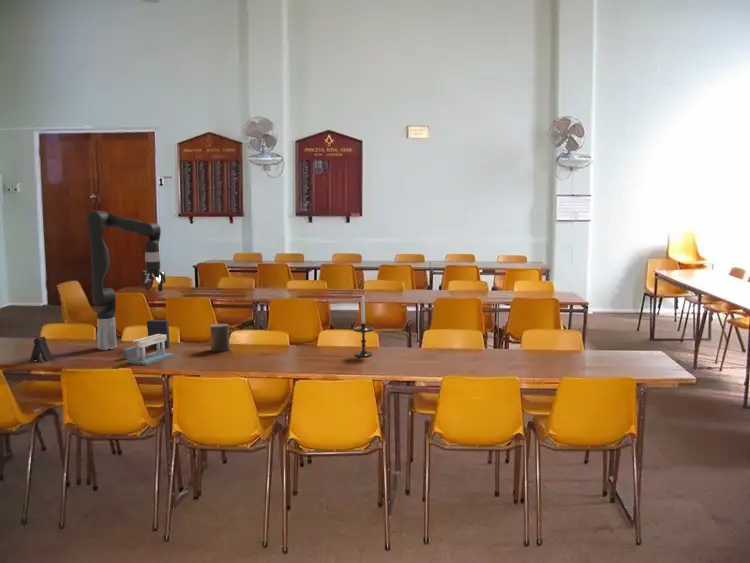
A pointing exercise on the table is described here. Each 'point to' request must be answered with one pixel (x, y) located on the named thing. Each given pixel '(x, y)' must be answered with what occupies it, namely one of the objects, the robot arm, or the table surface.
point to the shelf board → (149, 340)
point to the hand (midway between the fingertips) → (154, 290)
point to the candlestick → (363, 330)
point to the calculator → (158, 330)
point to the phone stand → (40, 350)
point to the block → (130, 352)
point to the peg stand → (151, 356)
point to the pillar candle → (219, 337)
